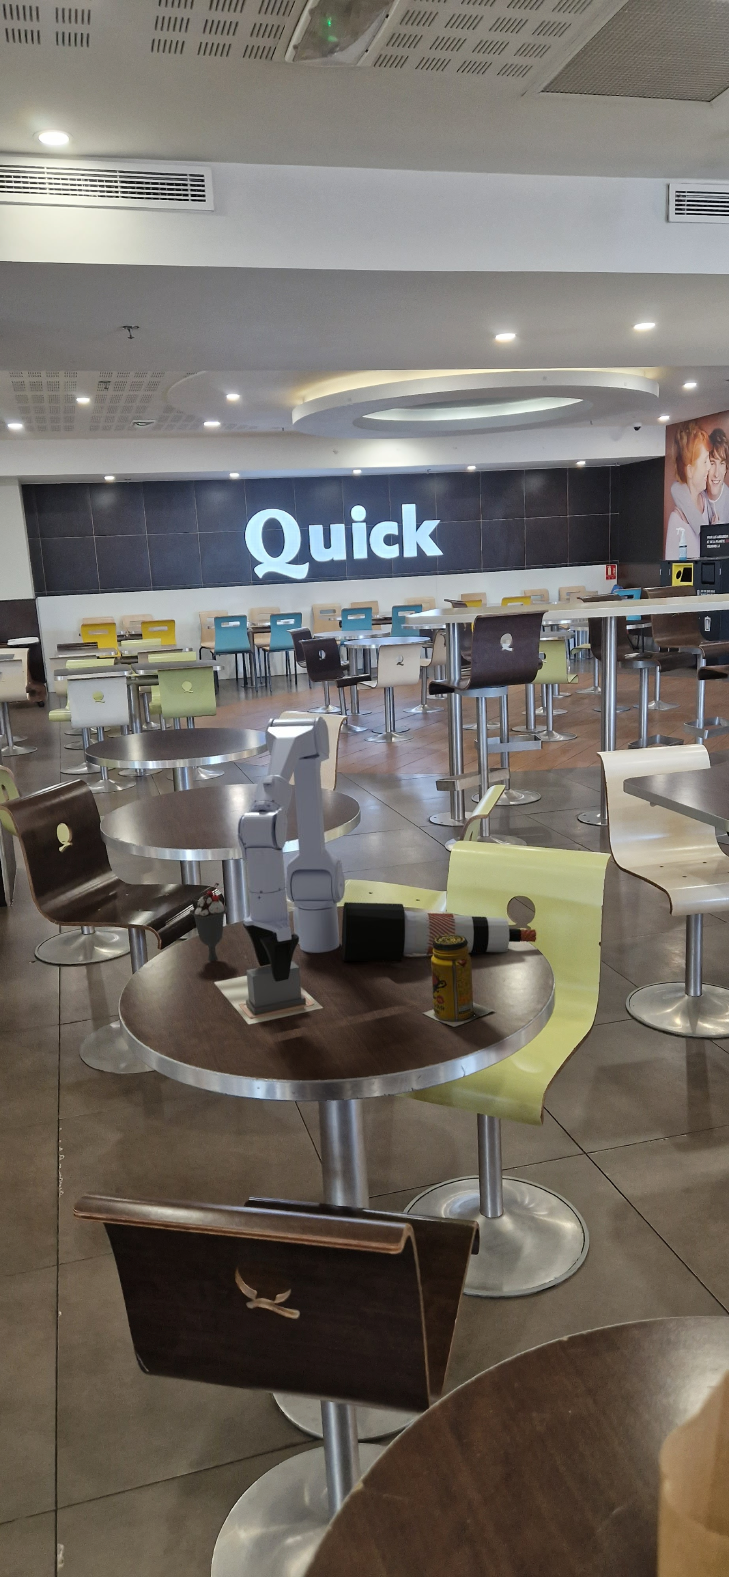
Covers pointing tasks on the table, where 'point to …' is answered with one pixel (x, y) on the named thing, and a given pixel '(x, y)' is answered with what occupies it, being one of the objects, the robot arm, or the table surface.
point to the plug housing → (272, 986)
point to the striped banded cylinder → (417, 932)
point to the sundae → (209, 920)
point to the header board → (239, 999)
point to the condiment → (453, 982)
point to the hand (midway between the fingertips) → (273, 972)
